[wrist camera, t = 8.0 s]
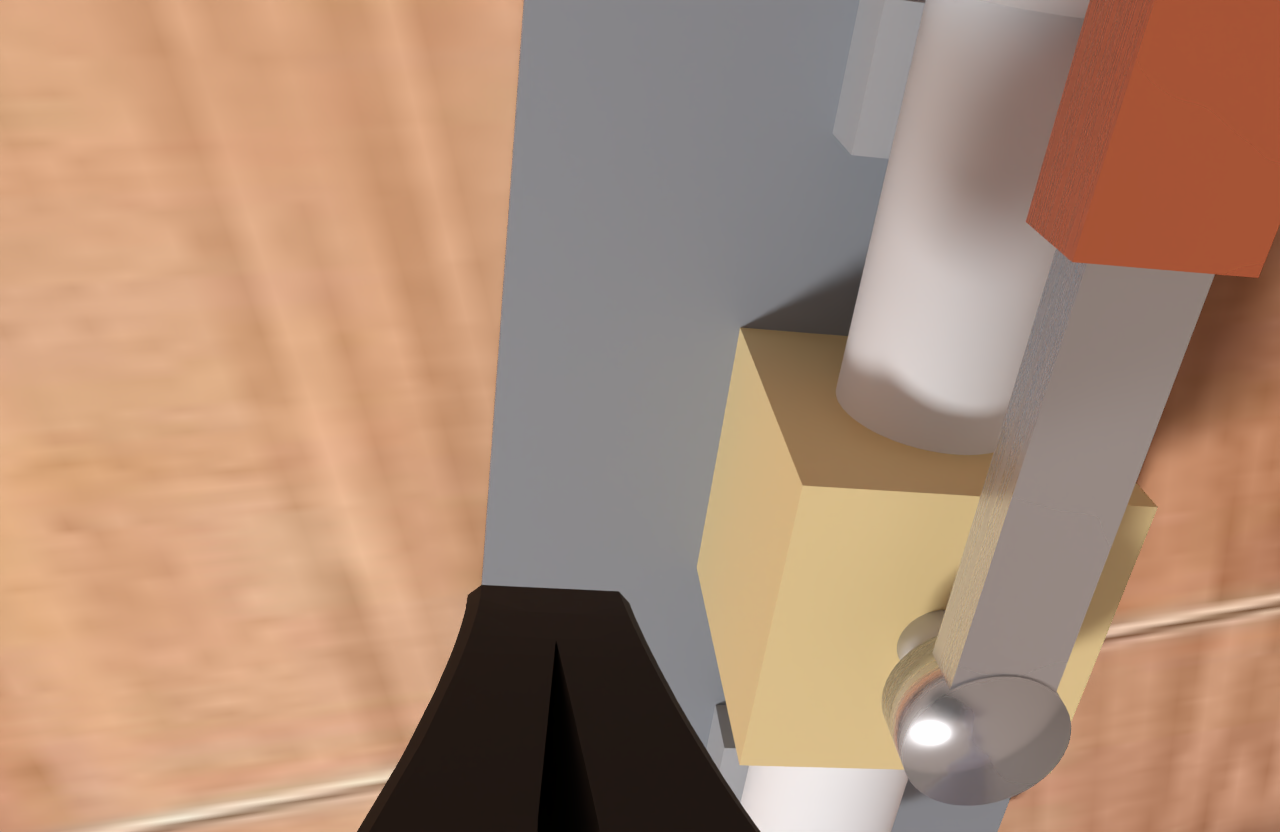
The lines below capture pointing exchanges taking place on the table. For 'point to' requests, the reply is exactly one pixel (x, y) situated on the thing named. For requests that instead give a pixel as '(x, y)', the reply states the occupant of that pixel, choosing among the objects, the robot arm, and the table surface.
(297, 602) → the table surface
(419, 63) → the table surface
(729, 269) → the valve board
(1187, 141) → the valve lever
